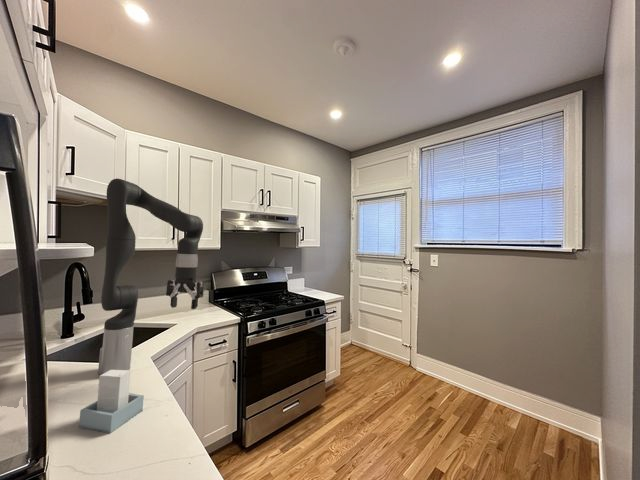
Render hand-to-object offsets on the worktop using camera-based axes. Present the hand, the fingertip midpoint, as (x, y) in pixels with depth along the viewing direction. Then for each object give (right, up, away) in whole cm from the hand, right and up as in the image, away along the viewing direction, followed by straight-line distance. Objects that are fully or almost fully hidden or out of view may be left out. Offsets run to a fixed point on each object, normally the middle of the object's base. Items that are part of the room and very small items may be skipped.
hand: (183, 308), depth 100 cm
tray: (-6, -24, -26) cm, 37 cm away
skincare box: (-7, -24, -26) cm, 36 cm away
